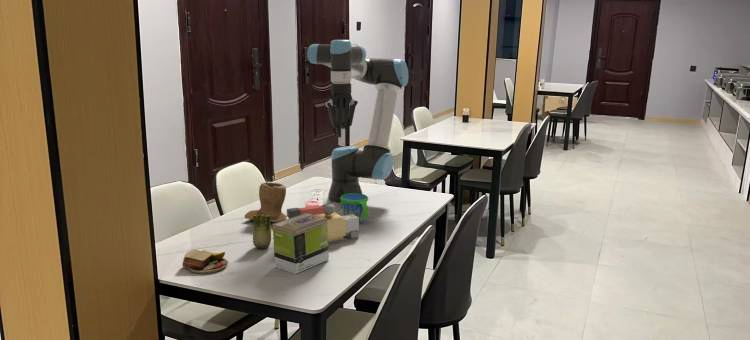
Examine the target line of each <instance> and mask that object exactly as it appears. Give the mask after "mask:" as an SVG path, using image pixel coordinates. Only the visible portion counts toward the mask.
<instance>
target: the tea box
mask: <svg viewBox="0 0 750 340" xmlns="http://www.w3.org/2000/svg"><path fill="white" fill-rule="evenodd" d="M272 239H273V254H274V255H273V257H274V267H275V268H278V269H280V270H282V271H285V272H289V273H291V274H294V275H297V274H300V273H301V272H303V271H306V270H308V269H311V268H312V267H315V266H317V265H320V264H322V263H324V262H327V261H329V259H330V258H329V257H330V255H329V244H328V231H327V218H324V217H320V216H316V215H312V214H308V213H304V214H301V215H298V216H295V217H292V218H286V219H285V220H283V221H281V222H274V223H272Z"/></svg>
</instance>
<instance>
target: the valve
mask: <svg viewBox="0 0 750 340" xmlns="http://www.w3.org/2000/svg"><path fill="white" fill-rule="evenodd" d="M316 216H320V217H324V218H327V231H328V245H332V244H336V243H337V244H338V243H342V242H346V240H347V239H346V238H349V239H350V240H355V239H359V230H360V224H359V217H357V216H355V215H353V214H350V215H345V216H344V215H340V214H338V213H336V212H335V211H334V213H332V214H317V215H316ZM345 236H346V237H345Z"/></svg>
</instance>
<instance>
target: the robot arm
mask: <svg viewBox="0 0 750 340" xmlns="http://www.w3.org/2000/svg"><path fill="white" fill-rule="evenodd" d="M366 57H367V50H366V49H365V47H364V46H363V45H361V44H356V43H353V44H352V42H351V40H349V39H333V40H331V41H330V44H329V43H327V44H326V43H325V44H323V43H313V44H311V45H309V46H308V49H307V59H308V61H309V63H310V64H315V65H323V66H326V67H329V68H330V82H331V84H330V93H331V96H330V98H329V100H328V101H325V102H324V106H325V107H326V108H327V112H328V113H327V114H328V117H329V122H330V125H331V127H333V128H335V131H336V135H335V136H336V137H337V138H338V139H337V140H338V144H337V145H338V146H340V147H336V148H334V149H333V150H332V152H331V160H330V161H331V184H330V187H329V191H328V192H327V193H328V195H327V196H328V201H330V202H331V203H338V204H341V201H340V198H341V196H342V195H344V194H349V193H359V194H363V191H362V188H361V185H360V182H359V178H361V179H370V180H374V181H376V180H381V181H382V180H386V179H387V178H388V177H389V176H390V174H391V173H392V171H393V170H392V169H393V167H394V156H393V154H392V153H391V149H390V146H389V141H390V136H391V129H392V124H393V118H394V113H395V108H396V102H397V96H398V94H400V93H401V92H402V90H403V87H406V86H407V85H408V83H409V69H408V65H407V63H406V62H405V60H404V59H401V58H395V57H394V58H375V57H371V58H366ZM352 79H353V80H357V81H359V82H361V83H364V84H368V85H375V88H376V90H377V93H376V99H375V104H374V110H373V115H372V121H371V126H370V131H369V136H368V141H367V143H365V144H364V145H363V147H362V148H363V149H362V150H359V149H360V148H359V146H357V145H349V146H347V145H346V137H347V136H348V129H349V127H351V126H352V124H353V121H354V116H355V111H356V107H357V105H358V102H359V101H358V100H355V99H354V98H353V95H352V83H351V82H352ZM333 106H334V107H333ZM334 110H335V111H334Z"/></svg>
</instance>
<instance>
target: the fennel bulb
mask: <svg viewBox="0 0 750 340" xmlns="http://www.w3.org/2000/svg"><path fill="white" fill-rule="evenodd" d="M257 219H258V220H257ZM252 231H253V232H252V243H253V244H252V245H253V246H254V247H255V248H257V249H259V250H260V249H261V250H264V249H268V248H269V247H270V244H271V241H272V229H271V222H270V216H268V215H267V217H266V222H265V215H261V219H260V215H253V230H252Z"/></svg>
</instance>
